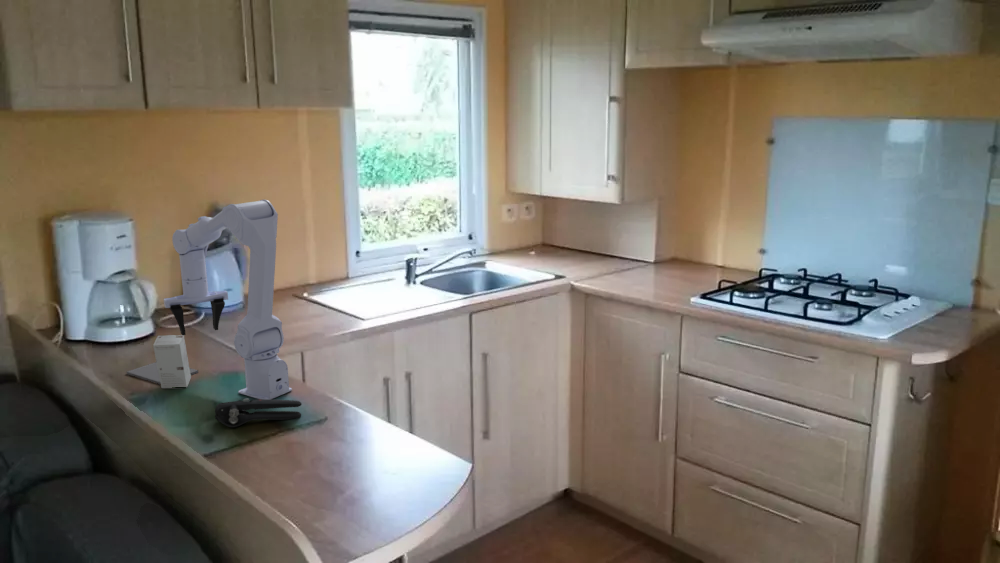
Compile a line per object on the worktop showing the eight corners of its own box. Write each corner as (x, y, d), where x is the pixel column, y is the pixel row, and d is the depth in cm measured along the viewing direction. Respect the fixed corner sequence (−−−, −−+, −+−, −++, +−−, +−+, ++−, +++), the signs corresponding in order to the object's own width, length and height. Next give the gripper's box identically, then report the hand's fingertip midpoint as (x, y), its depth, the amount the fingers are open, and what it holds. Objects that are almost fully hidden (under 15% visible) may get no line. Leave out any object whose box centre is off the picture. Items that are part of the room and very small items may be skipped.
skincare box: (161, 389, 187) (150, 345, 181) (166, 378, 190) (156, 335, 185) (188, 388, 187) (179, 344, 181) (192, 376, 191) (183, 334, 185)
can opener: (214, 433, 164) (212, 408, 162) (216, 420, 170) (213, 395, 169) (303, 423, 169) (302, 398, 167) (301, 410, 175) (300, 386, 174)
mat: (198, 372, 197) (198, 370, 197) (162, 385, 189) (162, 382, 189) (162, 362, 204) (162, 360, 204) (126, 374, 196) (126, 371, 196)
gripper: (221, 270, 200) (225, 322, 203) (159, 278, 193) (165, 332, 196) (228, 276, 194) (232, 329, 198) (164, 284, 187) (170, 339, 190)
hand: (199, 331), depth 196 cm, fingers open, 7 cm apart
